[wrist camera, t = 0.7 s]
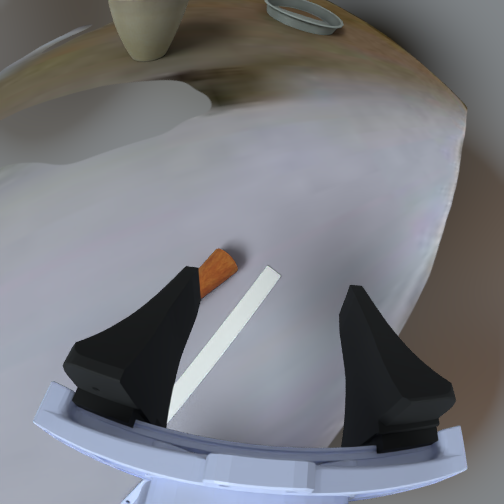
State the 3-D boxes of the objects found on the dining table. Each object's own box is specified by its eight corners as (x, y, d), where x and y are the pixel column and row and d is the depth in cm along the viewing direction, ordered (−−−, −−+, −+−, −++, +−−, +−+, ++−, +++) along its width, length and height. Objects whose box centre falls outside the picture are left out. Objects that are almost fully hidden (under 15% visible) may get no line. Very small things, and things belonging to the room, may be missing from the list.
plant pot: (103, 53, 40) (97, -9, 26) (164, 32, 46) (169, -26, 31) (128, 82, 39) (123, 5, 24) (199, 57, 44) (210, -12, 29)
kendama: (255, 276, 28) (111, 417, 19) (235, 284, 34) (115, 400, 25) (216, 231, 28) (64, 369, 19) (202, 246, 33) (77, 361, 24)
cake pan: (352, 38, 64) (358, 28, 60) (300, 39, 55) (305, 26, 51) (300, 5, 68) (304, -4, 63) (244, 5, 59) (248, -7, 55)
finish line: (144, 450, 23) (144, 450, 23) (129, 439, 23) (129, 439, 23) (280, 276, 33) (281, 275, 33) (267, 265, 33) (267, 265, 33)
